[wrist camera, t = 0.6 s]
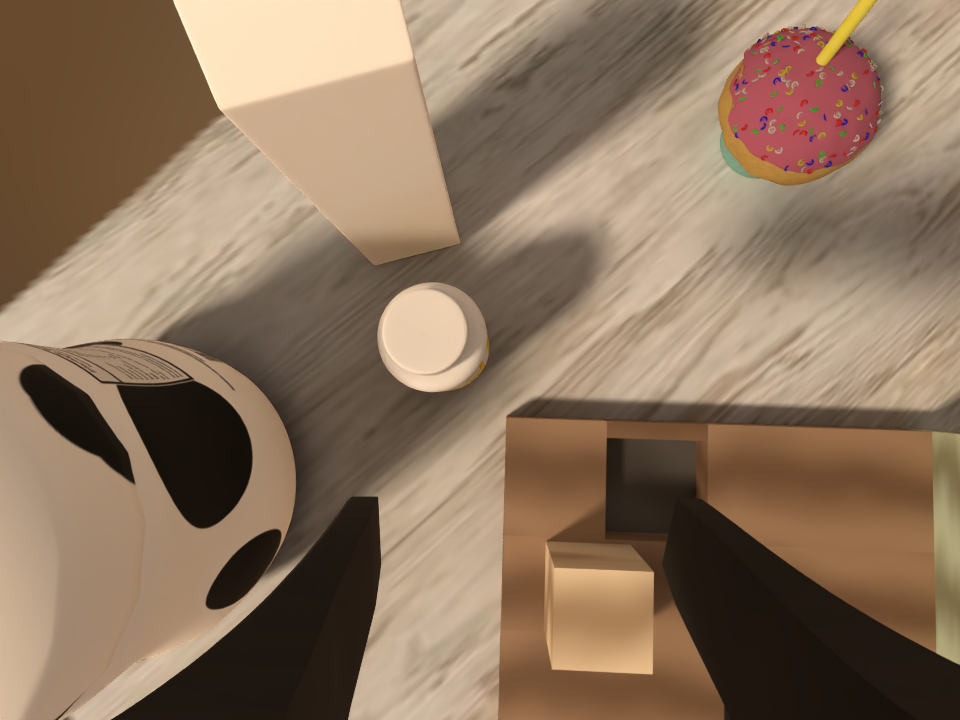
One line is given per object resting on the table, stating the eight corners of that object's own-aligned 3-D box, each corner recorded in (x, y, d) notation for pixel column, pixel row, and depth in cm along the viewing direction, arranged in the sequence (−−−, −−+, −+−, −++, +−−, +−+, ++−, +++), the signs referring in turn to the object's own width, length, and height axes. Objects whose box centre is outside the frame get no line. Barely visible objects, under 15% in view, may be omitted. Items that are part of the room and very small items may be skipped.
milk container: (100, 651, 33) (-381, 969, 15) (23, 399, 34) (-508, 410, 16) (350, 560, 33) (171, 770, 15) (265, 309, 34) (2, 219, 16)
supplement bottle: (424, 293, 33) (392, 251, 23) (502, 325, 33) (505, 296, 23) (391, 371, 33) (344, 363, 23) (469, 404, 33) (457, 411, 23)
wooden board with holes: (927, 753, 31) (991, 807, 27) (497, 730, 32) (498, 779, 28) (921, 429, 32) (981, 435, 28) (506, 416, 33) (507, 419, 29)
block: (629, 631, 30) (652, 674, 25) (543, 627, 30) (552, 669, 25) (630, 544, 30) (653, 572, 26) (545, 541, 30) (554, 567, 26)
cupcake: (682, 93, 34) (784, -71, 22) (810, 71, 33) (985, -107, 21) (705, 218, 33) (824, 121, 21) (836, 196, 33) (1031, 86, 21)
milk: (461, 244, 34) (399, -26, 12) (372, 267, 34) (144, 42, 12) (439, 157, 34) (338, -265, 12) (351, 180, 34) (91, -198, 12)
